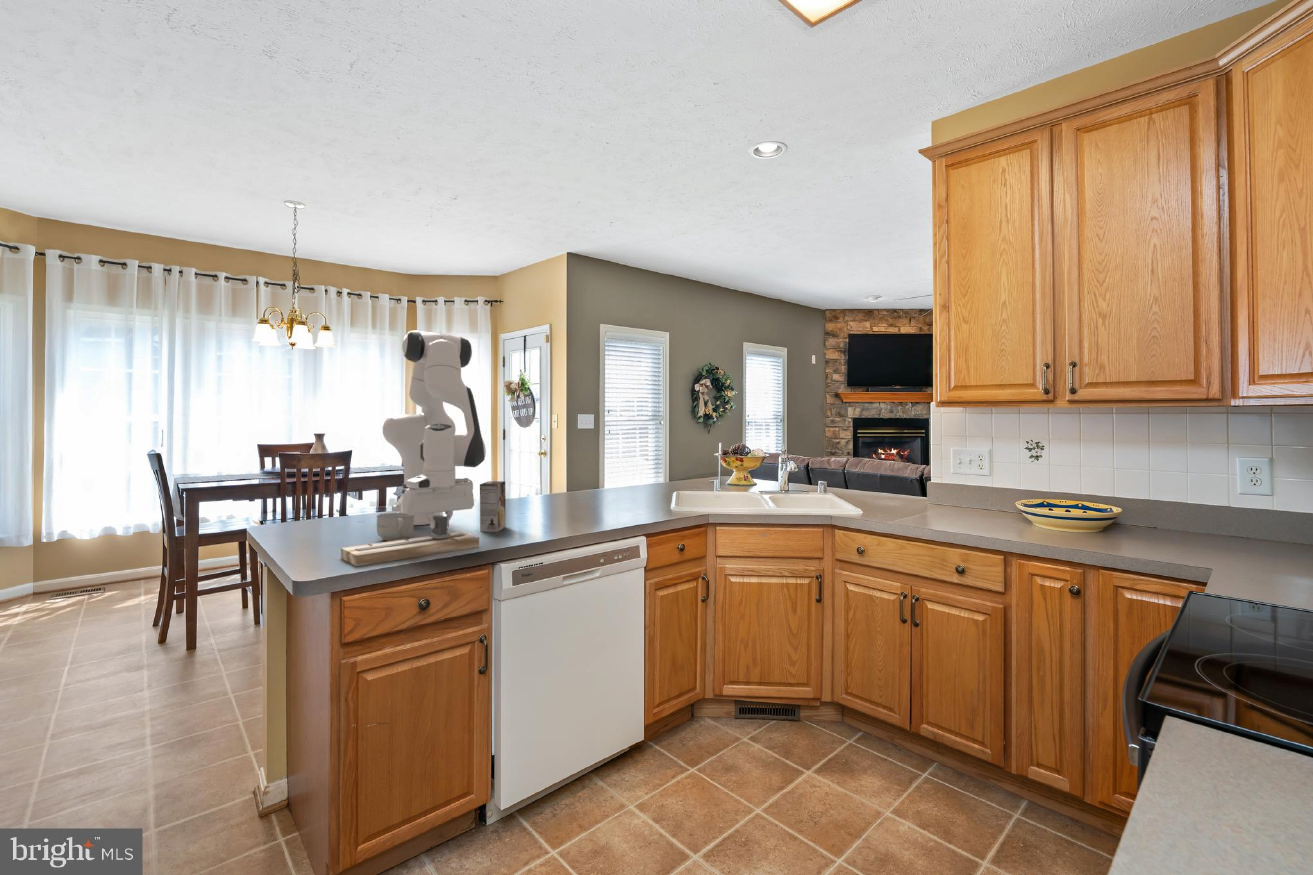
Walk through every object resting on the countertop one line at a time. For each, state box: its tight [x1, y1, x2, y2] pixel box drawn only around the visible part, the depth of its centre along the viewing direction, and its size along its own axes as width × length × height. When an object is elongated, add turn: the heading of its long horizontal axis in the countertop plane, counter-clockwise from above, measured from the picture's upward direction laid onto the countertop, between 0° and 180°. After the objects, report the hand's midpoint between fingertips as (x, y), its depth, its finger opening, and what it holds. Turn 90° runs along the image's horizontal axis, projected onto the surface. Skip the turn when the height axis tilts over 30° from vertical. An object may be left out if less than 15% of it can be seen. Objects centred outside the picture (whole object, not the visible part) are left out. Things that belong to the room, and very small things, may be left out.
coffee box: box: [479, 480, 507, 533], centre depth 205 cm, size 9×6×16 cm
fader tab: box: [429, 515, 450, 539], centre depth 175 cm, size 5×4×6 cm
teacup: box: [376, 512, 415, 542], centre depth 186 cm, size 14×11×8 cm
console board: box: [340, 531, 480, 567], centre depth 170 cm, size 12×34×3 cm, turn 135°
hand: (439, 527), depth 175 cm, fingers closed on fader tab, 2 cm apart
